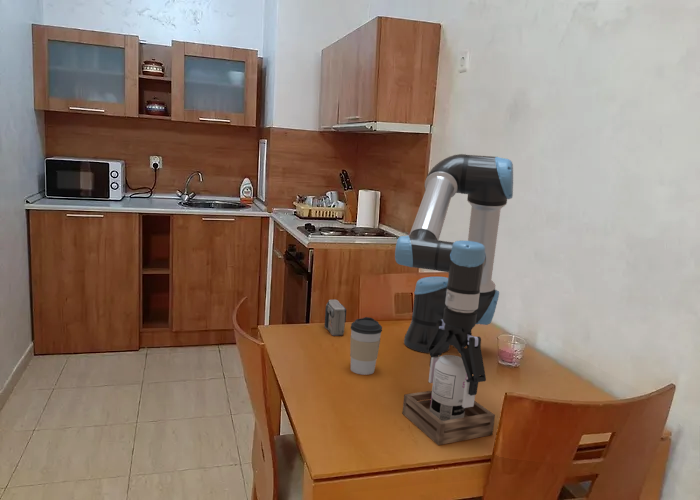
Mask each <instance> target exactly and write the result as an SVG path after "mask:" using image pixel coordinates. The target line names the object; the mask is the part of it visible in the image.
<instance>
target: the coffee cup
mask: <svg viewBox="0 0 700 500" xmlns="http://www.w3.org/2000/svg"><path fill="white" fill-rule="evenodd" d="M350 325H351V326H350V331H351V334H350V346H349V347H350V348H349V349H350V355H349V356H350V371H351V372H353V373H355V374H358V375H365V376H366V375H367V376H368V375H372V374H374V372H375V369H376V364H377V359H378V355H379V354H378V353H379V351H380V350H379V349H380V344H381V335H382V332H383V326H382V325H381V324H380V323H379V322H378V321H377V320H375V319H374V318H373V317H370V316H369V317H368V316H366V317H365V316H364V317H362V318H357V319H354V321H353V322H352V323H351V324H350Z"/></svg>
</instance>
